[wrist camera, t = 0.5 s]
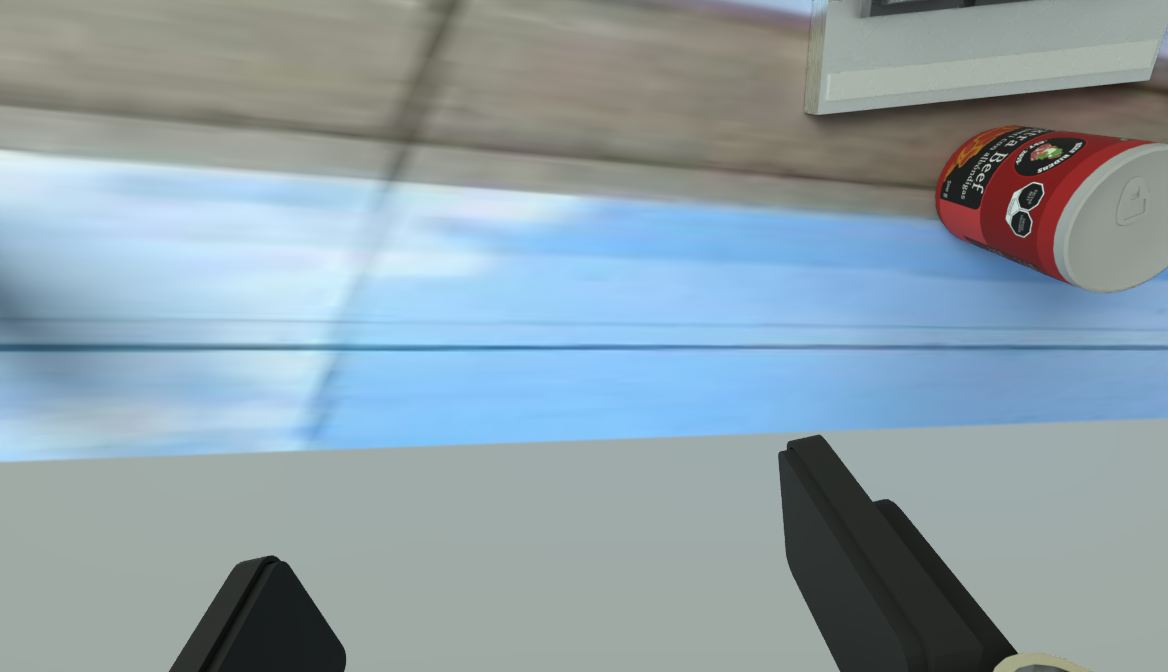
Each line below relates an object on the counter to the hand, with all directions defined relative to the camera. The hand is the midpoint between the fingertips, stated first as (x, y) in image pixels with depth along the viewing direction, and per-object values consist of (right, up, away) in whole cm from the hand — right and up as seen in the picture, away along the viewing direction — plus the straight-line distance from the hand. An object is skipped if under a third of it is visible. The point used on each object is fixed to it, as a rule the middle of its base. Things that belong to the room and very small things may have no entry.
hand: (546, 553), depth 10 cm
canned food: (+29, +15, +28) cm, 43 cm away
